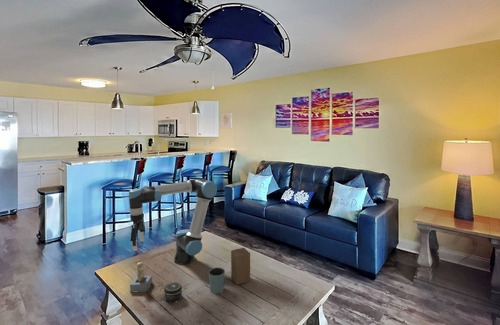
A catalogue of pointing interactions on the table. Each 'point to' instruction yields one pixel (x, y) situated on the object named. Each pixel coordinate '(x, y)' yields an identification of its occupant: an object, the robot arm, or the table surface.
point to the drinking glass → (216, 280)
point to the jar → (173, 291)
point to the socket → (140, 284)
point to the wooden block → (240, 266)
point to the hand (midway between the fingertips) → (138, 245)
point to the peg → (140, 272)
